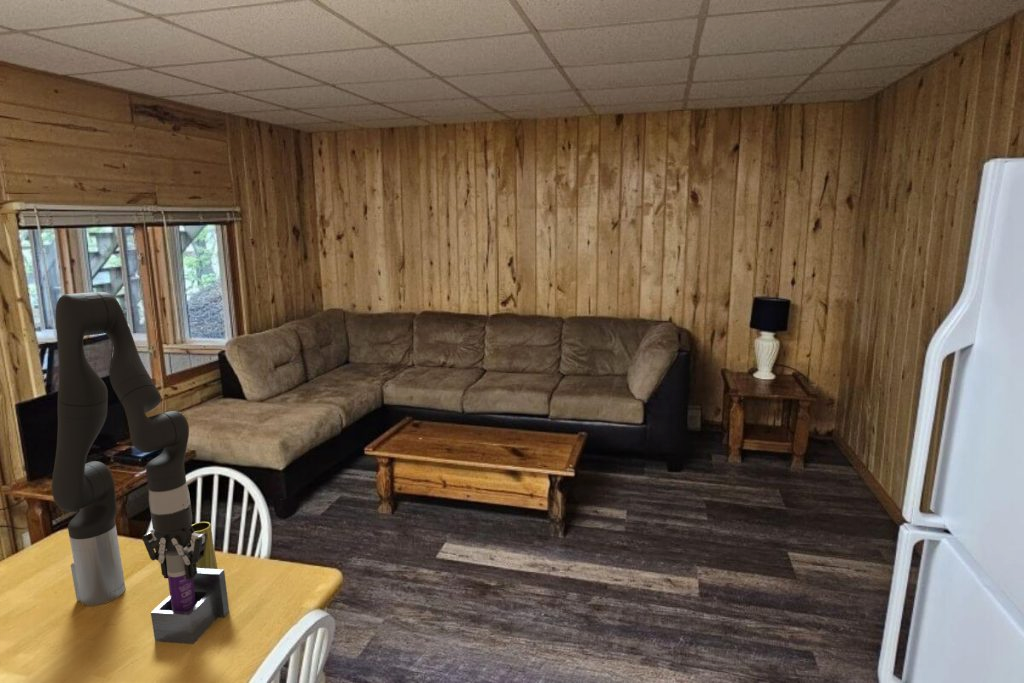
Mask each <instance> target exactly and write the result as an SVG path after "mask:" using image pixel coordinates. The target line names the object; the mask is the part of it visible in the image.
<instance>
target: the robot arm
mask: <svg viewBox="0 0 1024 683" xmlns="http://www.w3.org/2000/svg"><path fill="white" fill-rule="evenodd" d="M54 316H55V317H54V318H55V329H56V341H57V354H58V389H57V390H58V391H57V436H56V438H57V439H56V451H55V458H54V466H53V472H52V479H51V495H52V498H53V501H54V503H55V505H56V506H57V508H59V509H60V510H61V511H63V512H67V513H69V512H71V513H72V512H76V511H78V512H77V513H76V515H75V516H74V517H72V519H71V520H70V521H69V523H68V525H67V530H68V536H69V542H70V546H71V547H70V549H71V553H72V559H73V562H72V563H71V564H70V568H71V569H70V571H71V574H72V575H71V576H72V582H73V586H74V592H75V598H76V599H75V600H76V601H77V600H78V602H80V603H81V604H82V605H84V606H98V605H99V606H100V605H102V604H106V603H108V602H112V601H114V600H115V599H117V598H118V597H120V596H121V595H123V593H124V592H125V590H126V584H125V582H126V581H125V576H124V570H123V569H124V568H123V563H122V562H123V561H122V556H121V550H120V544H119V538H118V532H117V525H116V524H117V523H116V516H117V514H118V512H117V511H118V510H117V509H118V507H117V499H116V498H117V496H116V487H115V481H114V477H113V474H112V472H111V470H110V468H109V467H108V465H106V464H105V463H103V462H101V461H97V460H94V461H93V460H92V461H89V462H87V457H88V454H89V452H90V450H91V447H92V445H93V444H94V442H95V440H97V437H98V435H99V434H100V433H101V430H102V428H103V427H104V425H105V422H106V419H107V416H108V401H109V399H108V398H109V393H108V392H109V391H108V387H107V385H106V383H105V382H104V380H103V379H102V377H100V375H99V374H98V373H97V371H96V370H95V369H94V368H93V367H92V365H91V364H90V362H89V361H88V359H87V357H86V354H85V349H84V338H85V336H94V335H96V336H97V335H103V334H105V335H106V336H107V337H108V338H109V339H110V342H111V343H112V348H113V351H112V358H111V362H110V368H109V381H110V384H111V387H112V389H113V391H114V393H115V395H116V397H117V398H118V401H119V402H120V404H121V405H122V407H123V410H124V412H125V413H124V414H125V416H126V421H127V423H128V430H129V436H130V441H131V443H132V445H133V447H135V449H137V450H138V451H140V452H142V453H145V454H146V453H152V452H155V451H159V450H162V449H163V450H162V452H161V453H160V454H159V455H157V456H156V457H154V458H152V459H151V460H150V461H148V462H147V463H146V466H145V473H146V481H147V488H148V505H149V510H150V519H151V526H152V529H151V530H150V531H147V532H146V533H145V534H144V535H142V537H141V540H142V541H143V544H144V546H145V548H146V551H147V553H148V556H149V559H150V560H151V561H155V560H156V561H158V563H159V564H160V569H161V570H160V571H161V575H162V576H163V579H168V574H167V562H166V552H168V551H169V550H176V551H178V554H179V556H182V558H183V560H184V562H185V572H186V579H187V580H191V579H192V578H193V577H194V576H195V575H196V574H197V567H196V563H197V562H198V561H199V560H200V559H201V558H202V557H203V556H204V554H205V547H206V540H207V534H206V533H202V534H197V533H194V530H193V528H192V526H191V525H193V524H192V522H193V514H192V505H191V498H190V491H189V487H188V484H187V477H186V470H185V460H186V459H185V458H186V454H187V453H186V452H187V448H188V441H189V436H190V427H189V422H188V419H187V418H186V417H185V415H184V414H183V413H181V411H178V410H171V411H166V412H162V413H158V414H155V415H150V416H147V414H146V413H149V412H150V411H152V410H153V409H155V408H157V406H159V404H161V401H162V396H161V393H160V391H159V390H158V387H157V386H156V384H155V382H154V381H153V379H152V377H151V376H150V374H149V372H148V371H147V369H146V367H145V366H144V363H143V360H142V359H141V356H140V354H139V352H138V348H137V345H136V342H135V339H134V336H133V335H132V332H131V329H130V326H129V324H128V321H127V319H126V316H125V313H124V310H123V308H122V306H121V305H120V302H119V301H118V299H117V298H116V297H115V295H113V294H111V293H109V292H105V291H97V292H96V291H95V292H92V291H91V292H79V293H66V294H63V295H61V296H60V297H59V298H58V300H57V302H56V304H55V315H54ZM86 462H87V463H86ZM191 539H193V542H192V540H191ZM186 546H187V548H186V549H184V548H185V547H186ZM188 553H189V555H190V557H189V555H188Z"/></svg>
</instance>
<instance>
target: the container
mask: <svg viewBox="0 0 1024 683" xmlns="http://www.w3.org/2000/svg"><path fill="white" fill-rule="evenodd" d="M186 548H187V546H186V547H185V548H184V549H186ZM188 555H189V553H188ZM189 557H190V555H189ZM166 562H167V574H168V578H167V579H168V580H167V581H168V589H169V595H170V598H171V606H172V611H183V612H189V611H190V610H191V609H192V608H193V607H194V606H195V605H196V601H195V592H194V583H193V578H192V579H191V580H187V579H186V572H185V562H184V560H183V558H182V556H179V554H178V551H176V550H169V551H168V552H166Z"/></svg>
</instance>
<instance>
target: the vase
mask: <svg viewBox="0 0 1024 683" xmlns="http://www.w3.org/2000/svg"><path fill="white" fill-rule="evenodd" d="M191 526H192V528H193V530H194V533H197V534H202V533H206V534H207V540H206V547H205V554H204V556H203V557H202V558H201V559H200V560H199V561H198V562H197V563H196V567H197V568H208V569H219V568H218V563H217V559H216V558H217V557H216V551H215V546H214V539H213V531H212V524H211V523H210V522H209V521H200V522H196V523H194V524H191ZM191 540H192V542H193V539H191Z"/></svg>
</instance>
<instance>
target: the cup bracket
mask: <svg viewBox="0 0 1024 683" xmlns="http://www.w3.org/2000/svg"><path fill="white" fill-rule="evenodd" d="M225 573H226V572H225V569H221V568H218V569H208V568H197V574H196V575H195V576H194V577H193V583H194V592H195V601H196V605H195V606H194V607H193V608H192V609H191V610H190V611H189V612H183V611H172V606H171V598H170V594H169V595H168V596H167V597H166V598H165V599H164V600H163V601H162V602H160V604H158V605H157V606H156V607H155V608H154V609H153V610H152V611H151V612H150V618H151V623H152V630H153V636H154V638H153V639H154V642H160V643H172V644H173V643H174V644H175V643H176V644H185V645H186V644H187V645H194V644H195V643H196V642H197V641H199V639H200V638H201V637H202V636H203V634H205V632H207V630H208V629H210V627H211V626H212V625H213V624H214V623H215V621H217V620H218V619H225V618H226V617H227V616H228V615H229V614H230V609H229V608H230V606H229V598H228V597H229V596H228V591H227V582H226V574H225Z"/></svg>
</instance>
